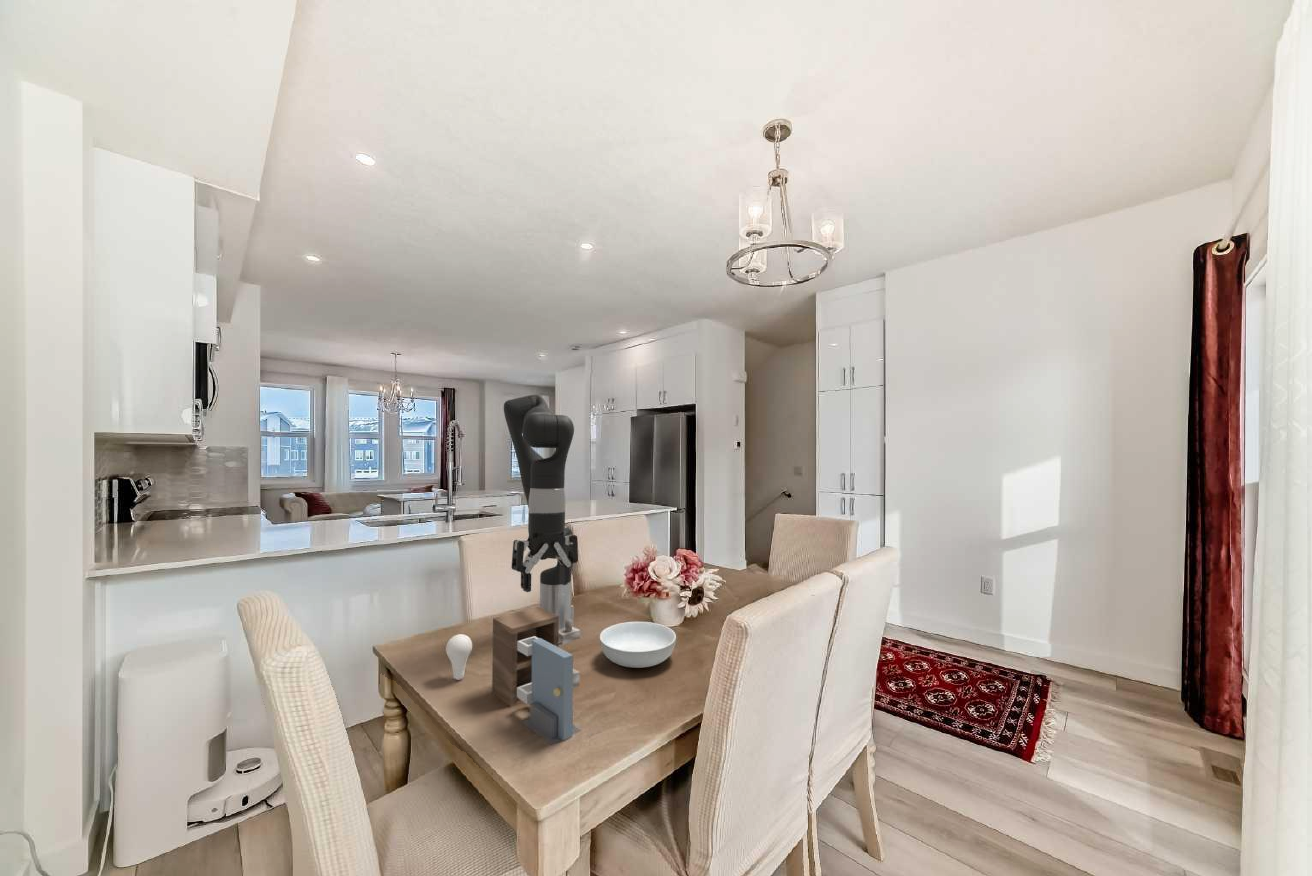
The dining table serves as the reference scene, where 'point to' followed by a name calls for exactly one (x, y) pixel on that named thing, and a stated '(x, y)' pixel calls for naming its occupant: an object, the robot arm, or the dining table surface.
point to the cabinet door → (549, 681)
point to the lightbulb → (459, 653)
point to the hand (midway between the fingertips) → (545, 587)
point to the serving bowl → (637, 643)
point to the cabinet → (513, 664)
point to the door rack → (545, 723)
